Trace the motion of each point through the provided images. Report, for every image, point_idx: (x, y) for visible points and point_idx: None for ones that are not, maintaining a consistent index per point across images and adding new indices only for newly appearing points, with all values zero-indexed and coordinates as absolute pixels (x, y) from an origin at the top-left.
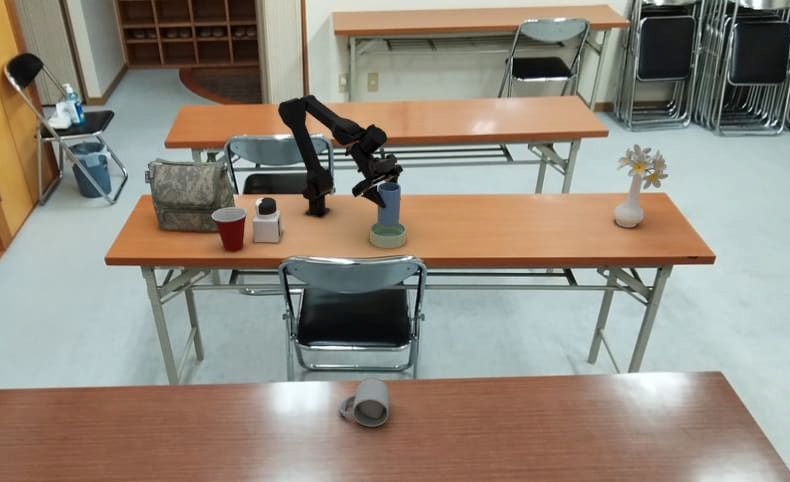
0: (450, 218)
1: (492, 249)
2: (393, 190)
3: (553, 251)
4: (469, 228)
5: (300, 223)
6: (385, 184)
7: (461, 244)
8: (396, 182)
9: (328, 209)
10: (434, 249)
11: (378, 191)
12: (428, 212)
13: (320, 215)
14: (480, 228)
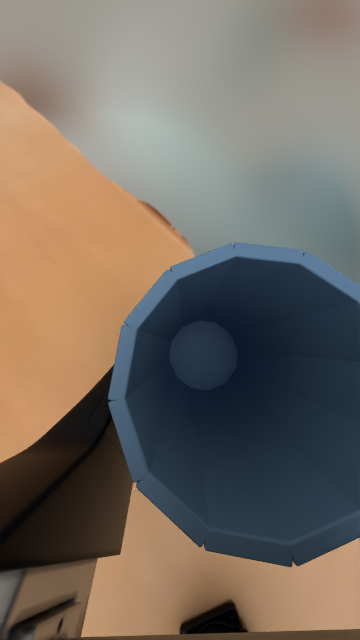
0: (8, 319)
1: (74, 182)
2: (153, 390)
3: (13, 113)
4: (25, 260)
5: (306, 625)
6: (203, 505)
7: (96, 231)
8: (57, 439)
9: (186, 630)
10: (151, 255)
11: (334, 452)
12: (11, 379)
13: (233, 616)
14: (11, 245)
